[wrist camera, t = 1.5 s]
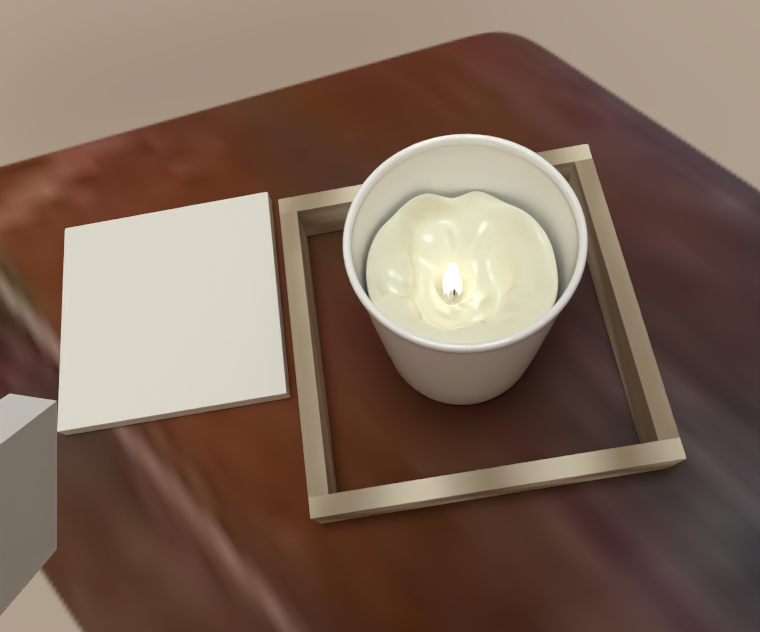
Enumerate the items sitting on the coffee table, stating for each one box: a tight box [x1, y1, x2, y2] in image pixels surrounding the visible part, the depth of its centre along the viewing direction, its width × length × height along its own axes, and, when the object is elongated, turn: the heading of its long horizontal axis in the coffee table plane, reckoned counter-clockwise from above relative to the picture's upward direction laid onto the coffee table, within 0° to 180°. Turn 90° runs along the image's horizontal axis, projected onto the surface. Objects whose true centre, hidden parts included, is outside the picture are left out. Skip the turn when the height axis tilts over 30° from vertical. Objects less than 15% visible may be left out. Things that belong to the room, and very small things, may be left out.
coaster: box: [57, 192, 291, 435], centre depth 40 cm, size 13×13×1 cm
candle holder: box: [343, 134, 588, 405], centre depth 33 cm, size 10×10×12 cm
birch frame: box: [278, 144, 686, 523], centre depth 37 cm, size 18×18×3 cm
